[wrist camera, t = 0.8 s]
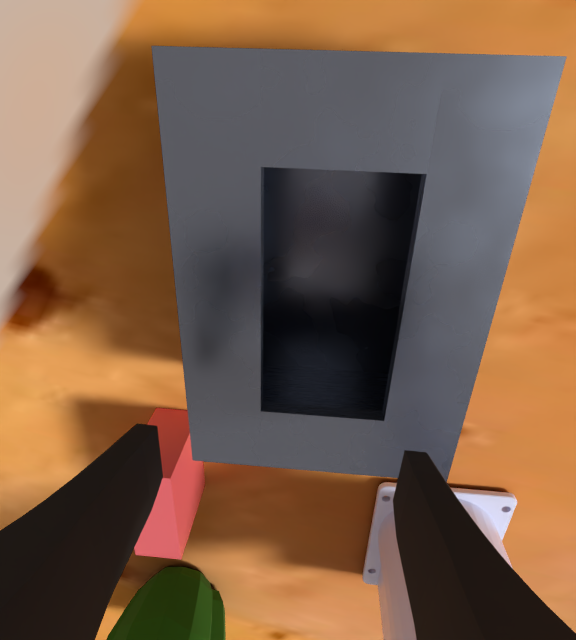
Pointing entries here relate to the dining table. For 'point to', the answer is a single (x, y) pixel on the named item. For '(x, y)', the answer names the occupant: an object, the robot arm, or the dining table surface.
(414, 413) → the grey box with slot
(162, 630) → the bell pepper
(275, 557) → the dining table surface
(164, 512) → the pink flat block
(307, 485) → the dining table surface
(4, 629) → the robot arm
